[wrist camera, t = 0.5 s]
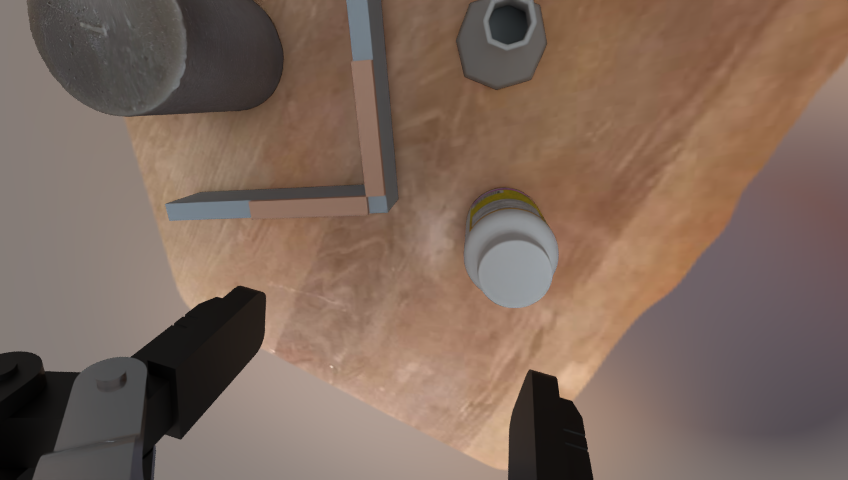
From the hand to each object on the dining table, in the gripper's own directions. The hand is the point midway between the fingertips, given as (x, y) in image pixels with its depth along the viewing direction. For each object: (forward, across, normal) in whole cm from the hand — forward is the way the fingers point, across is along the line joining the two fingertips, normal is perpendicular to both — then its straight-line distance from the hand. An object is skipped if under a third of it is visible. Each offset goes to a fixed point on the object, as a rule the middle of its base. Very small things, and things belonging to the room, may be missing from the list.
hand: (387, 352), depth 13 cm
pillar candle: (+27, +22, -4) cm, 35 cm away
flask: (+29, 0, -9) cm, 30 cm away
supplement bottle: (+28, -4, +5) cm, 28 cm away
